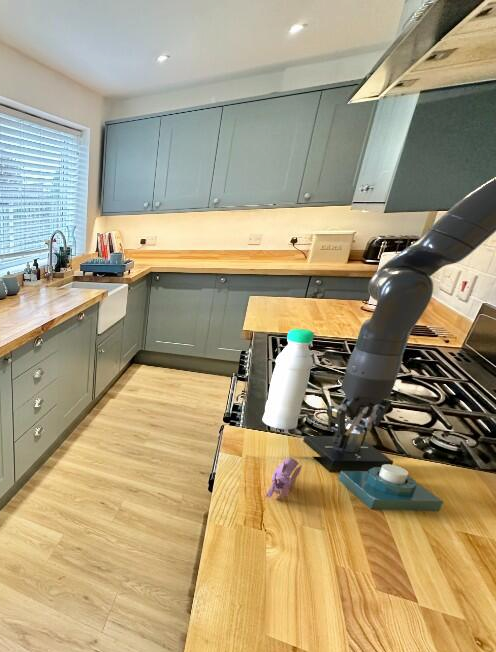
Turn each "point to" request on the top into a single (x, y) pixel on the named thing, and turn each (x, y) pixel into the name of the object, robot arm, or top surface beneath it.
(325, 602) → the top surface
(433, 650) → the top surface
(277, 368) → the white milk bottle
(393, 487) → the button base
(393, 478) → the white push button
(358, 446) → the lock knob
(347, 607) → the top surface
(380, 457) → the lock base
